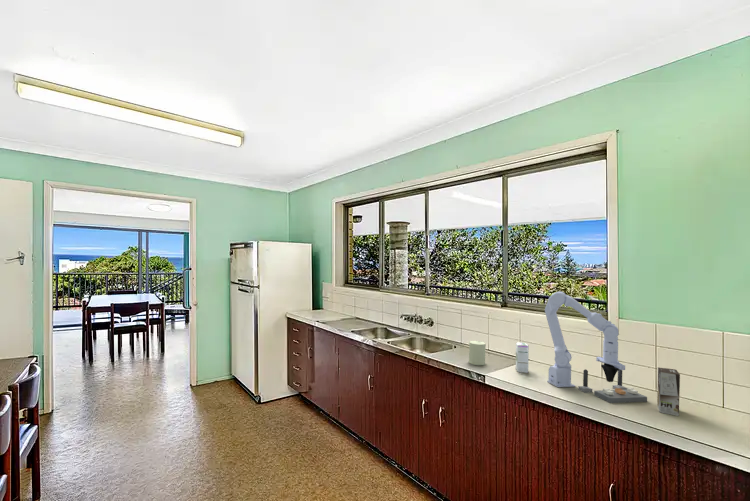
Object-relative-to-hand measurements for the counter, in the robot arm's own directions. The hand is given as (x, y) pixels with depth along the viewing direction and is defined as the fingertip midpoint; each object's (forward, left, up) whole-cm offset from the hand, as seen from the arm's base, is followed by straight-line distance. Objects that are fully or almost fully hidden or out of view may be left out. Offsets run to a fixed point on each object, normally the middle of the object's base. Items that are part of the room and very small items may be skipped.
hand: (609, 381), depth 170 cm
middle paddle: (0, -6, -2) cm, 6 cm away
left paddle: (-6, -6, -2) cm, 9 cm away
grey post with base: (+9, +4, -5) cm, 11 cm away
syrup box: (-22, +35, -6) cm, 42 cm away
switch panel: (0, -6, -5) cm, 8 cm away
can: (-40, +51, -6) cm, 65 cm away
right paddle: (+6, -6, -2) cm, 9 cm away
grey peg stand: (-9, +4, -5) cm, 11 cm away
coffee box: (+9, -20, -6) cm, 22 cm away
